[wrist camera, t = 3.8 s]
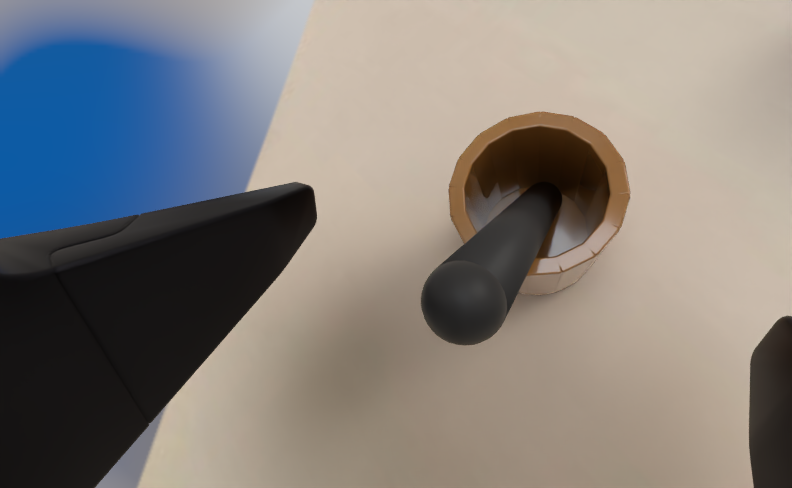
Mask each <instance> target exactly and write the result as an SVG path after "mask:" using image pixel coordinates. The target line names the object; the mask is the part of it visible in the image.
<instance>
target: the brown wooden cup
mask: <svg viewBox="0 0 792 488" xmlns="http://www.w3.org/2000/svg"><path fill="white" fill-rule="evenodd" d="M539 182H549V183H552V184H554V185H555V186H556V187H558V189H559V190H560V192H561V195H562V204H561V207H560V209H559V211H558V213H557V215H556V217H555V219H554V221H553V223H552V225H551V227H550V229H549V231H548V233H547V235H546V237H545V239H544V241H543V243H542V245H541V247H540V249H539V251H538V253H537V255H536V257H535V259H534V261H533V263H532V266H531V268H530V270H529V272H528V274H527V276H526V278H525V280H524V282H523V284H522V286H521V288H520V290H519V292H518V293H523V294H529V295H544V294H550V293H554V292H558V291H560V290H563V289H565V288H567V287H569V286H570V285H572V284H574V283H575V282H577V281H578V280H579V279H580V278H581V277H582V276H583V275H584V274H585V273H586V271H587V270H588V269H589V268H590V267H591V266H592V265H593V263H594V262H595V261H596V260H597V258H598V257H599V256H600V255H601V253H602V252H603V251H604V249H605V248H606V247H607V246H608V244H609V243H610V242H611V241H612V239H613V238H614V237H615V235H616V234H617V233H618V232H619V230H620V228H621V226H622V223H623V220H624V216H625V213H626V209H627V206H628V203H629V199H630V188H629V182H628V177H627V171H626V166H625V162H624V160H623V158H622V157H621V155H620V154H619V153H618V151H617V150H616V149H615V147H614V146H613V145H612V143H611V142H610V140H609V139H608V138H607V136H606V135H604V134H603V133H602V132H601V131H599V130H597V129H596V128H594V127H592V126H590V125H589V124H587V123H585V122H583V121H582V120H580V119H578V118H576V117H575V118H574V117H573V116H568V115H562V114H555V113H548V112H534V113H529V114H524V115H519V116H514V117H509V118H508V119H504V120H503V121H501V122H499V123H497V124H496V125H494V126H492V127H491V128H489V129H487V130H485V131H484V132H482V133H480V135H478V136H477V137H476V138H475V139H474V141H473V142H472V143H471V144H470V145H469V147H468V148H467V149H466V150H465V151H464V152H463V154H462V155H461V156H460V157H459V159H458V161H457V164H456V167H455V170H454V173H453V176H452V179H451V181H450V184H449V204H450V216H451V220H452V222H453V224H454V225H455V227H456V229H457V231H458V233H459V235H460V237H461V239H462V241H463V243H464V244H465V243H466V242H467V241H469V240H470V239H471V238H472V237H473V236H474V235H475V234H477V233H478V232H479V231H480V230H481V229H482V228H484V227H485V226H486V225H487V224H488V223H489V222H490V221H492V220H493V219H494V218H495V217H496V216H497V215H499V214H500V213H501V212H502V211H503V210H504V209H505V208H507V207H508V206H509V205H510V204H511V203H512V202H514V201H515V200H516V199H517V198H518V197H519V196H520V195H522V194H523V193H524V192H525V191H526V190H527V189H529V188H530V187H531V186H532V185H534V184H536V183H539Z"/></svg>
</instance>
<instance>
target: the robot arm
mask: <svg viewBox="0 0 792 488" xmlns="http://www.w3.org/2000/svg"><path fill="white" fill-rule="evenodd" d="M316 220H317V212H316V203H315V195H314V190H313V188H312V187H311V186H309V185H306V184H302V183H298V182H294V183H289V184H284V185H279V186H274V187H269V188H264V189H259V190H255V191H250V192H245V193H240V194H235V195H230V196H225V197H221V198H216V199H211V200H206V201H201V202H196V203H192V204H187V205H182V206H177V207H172V208H167V209H163V210H157V211H153V212H148V213H143V214H141V215H140V216H139V215H133V216H128V217H123V218H118V219H113V220H108V221H103V222H97V223H93V224H87V225H81V226H75V227H70V228H64V229H58V230H52V231H46V232H39V233H34V234H28V235H21V236H15V237H9V238H2V239H0V488H95V487H96V486H97V484H98V483H99V482H100V481H101V480H102V479H103V478H104V476H105V475H106V474H107V473H108V472H109V471H110V469H111V468H112V467H113V466H114V465H115V464H116V463H117V462H118V460H119V459H120V458H121V457H122V456H123V455H124V453H125V452H126V451H127V450H128V449H129V448H130V447H131V445H132V444H133V443H134V442H135V441H136V440H137V438H138V437H139V436H140V435H141V434H142V433H143V432H144V430H145V429H146V428H147V427H148V426H149V423H151V422H152V421H153V420H154V418H155V417H156V416H157V415H158V414H159V413H160V412H161V411H162V409H163V408H164V407H165V406H166V405H167V404H168V402H169V401H170V400H171V399H172V398H173V397H174V396H175V394H176V393H177V392H178V391H179V390H180V389H181V388H182V386H183V385H184V384H185V383H186V382H187V381H188V380H189V378H190V377H191V376H192V375H193V374H194V373H195V371H196V370H197V369H198V368H199V367H200V366H201V365H202V363H203V362H204V361H205V360H206V359H207V358H208V357H209V355H210V354H211V353H212V352H213V351H214V350H215V349H216V347H217V346H218V345H219V344H220V343H221V342H222V340H223V339H224V338H225V337H226V336H227V335H228V334H229V332H230V331H231V330H232V329H233V328H234V327H235V326H236V324H237V323H238V322H239V321H240V320H241V319H242V318H243V316H244V315H245V314H246V313H247V312H248V311H249V309H250V308H251V307H252V306H253V305H254V304H255V303H256V301H257V300H258V299H259V298H260V297H261V296H262V295H263V293H264V292H265V291H266V290H267V289H268V288H269V286H270V285H271V284H272V283H273V282H274V281H275V280H276V278H277V277H278V276H279V275H280V274H281V272H282V271H283V270H284V268H285V267H286V266H287V264H288V263H289V262H290V260H291V259H292V257H293V256H294V254H295V253H296V252H297V250H298V249H299V247H300V246H301V244H302V243H303V242H304V240H305V239H306V237H307V236H308V234H309V233H310V232H311V230H312V229H313V227H314V226H315V223H316ZM749 449H750V460H751V468H752V476H753V484H754V488H792V316H785V317H782V318H780V319H779V320H778V321H777V322H776V323H775V324H774V325H773V327H772V328H771V329H770V330H769V332H768V333H767V334H766V335H765V337H764V338H763V339H762V341H761V342H760V343H759V344H758V346H757V347H756V348H755V350H754V352H753V354H752V357H751V363H750V408H749Z"/></svg>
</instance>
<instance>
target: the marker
mask: <svg viewBox="0 0 792 488" xmlns="http://www.w3.org/2000/svg"><path fill="white" fill-rule="evenodd" d="M561 204H562V195H561V192H560V190H559V189H558V187H556V186H555V185H554V184H552V183H549V182H539V183H536V184H534V185H532V186H531V187H530V188H529V189H527V190H526V191H525V192H524V193H523V194H522V195H520V196H519V197H518V198H517V199H516V200H515V201H514V202H512V203H511V204H510V205H509V206H508V207H507V208H505V209H504V210H503V211H502V212H501V213H500V214H499V215H497V216H496V217H495V218H494V219H493V220H492V221H490V222H489V223H488V224H487V225H486V226H485V227H484V228H482V229H481V230H480V231H479V232H478V233H477V234H475V235H474V236H473V237H472V238H471V239H470V240H469V241H467V242H466V243H465V244H464V245H463V246H462V247H460V248H459V249H458V250H457V251H456V252H455V253H453V254H452V255H451V256H450V257H449V258H448V259H447V260H445V261H444V262H443V263H442V264H441V265H440V266H438V267H437V268H436V269H435V270H434V271H433V272H432V273H431V274H430V276H429V277H428V279H427V280H426V282H425V284H424V287H423V290H422V295H421V308H422V312H423V315H424V318H425V320H426V322H427V324H428V326H429V327H430V328H431V330H432V331H433V332H434V333H435V334H436V335H437V336H439V337H440V338H442V339H443V340H445V341H447V342H449V343H453V344H457V345H474V344H478V343H481V342H483V341H485V340H487V339H489V338H490V337H492V336H493V335H494V334H495V333H496V332H497V331H498V330H499V328H500V327H501V326H502V324H503V322H504V320H505V318H506V316H507V314H508V312H509V310H510V308H511V306H512V304H513V302H514V300H515V298H516V296H517V294H518V292H519V290H520V288H521V286H522V284H523V282H524V280H525V278H526V276H527V274H528V272H529V270H530V268H531V266H532V263H533V261H534V259H535V257H536V255H537V253H538V251H539V249H540V247H541V245H542V243H543V241H544V239H545V237H546V235H547V233H548V231H549V229H550V227H551V225H552V223H553V221H554V219H555V217H556V215H557V213H558V211H559V209H560V207H561Z"/></svg>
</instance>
